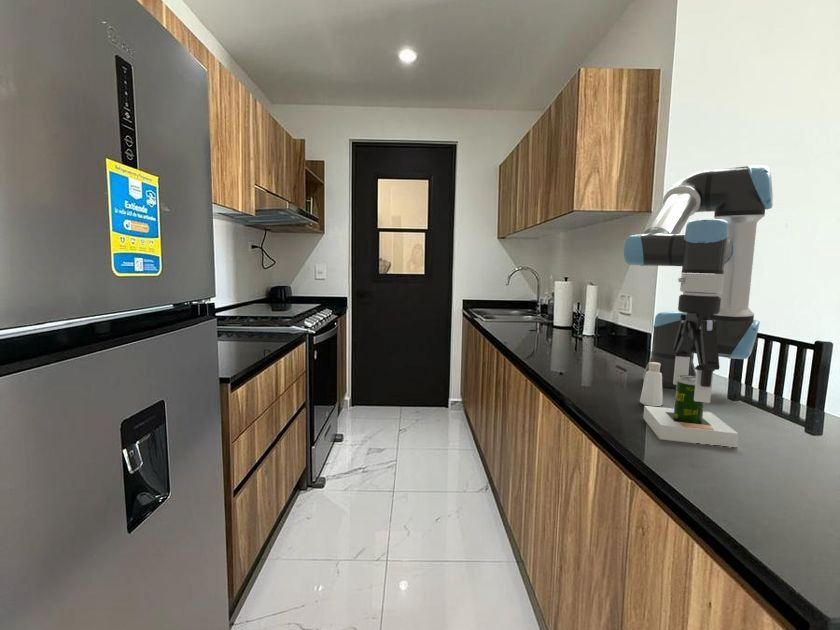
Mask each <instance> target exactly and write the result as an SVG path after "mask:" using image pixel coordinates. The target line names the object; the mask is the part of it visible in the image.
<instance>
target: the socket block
mask: <svg viewBox="0 0 840 630" xmlns="http://www.w3.org/2000/svg"><path fill="white" fill-rule="evenodd" d="M673 415H674V408H671V407H670V408H669V407H662V406H660V407H652V406H648V405H644V406H643V415H642V416H643V417H642V418H643V420H644V421H645V422H646V423H647V425H648V426H649V428H650V429H651V430H652V431H653V433H654V434H655V435H656V437H657V438H658V439H659V440H662V441H663V440H665V441H670V442H671V441H673V442H681V443H691V444H696V443H700V444H699V445H705V444H710V445H709V446H713V445H721V446H720V447H722V446H729V447H728V448H731V447H737V448H738V443H739V432H737V431H736V430H735V429H733V428H732V427H730V426H729V425H728V424H727V423H725V422H724V421H723V420H722V419H720V418H719V417H718V416H717V415H716V414H714V413H713V412H712V411H711V412H710V411H703V418H702V424H693V423H684V422H674V421H673Z"/></svg>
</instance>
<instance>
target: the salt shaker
mask: <svg viewBox="0 0 840 630" xmlns="http://www.w3.org/2000/svg"><path fill="white" fill-rule="evenodd" d="M648 363H649V371H647V372H646V374H645V379H644V380H643V385H642V389H641V393H640V394H641V395H640V397H639V398H640V399H639V403H640V404H642V405H644V406H660V407H662V406H663V403H664V401H663V386H662V373H660V372H659V371H660V366H661V364H660V363H657V362H649V361H648ZM661 405H662V406H661Z"/></svg>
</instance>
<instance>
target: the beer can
mask: <svg viewBox="0 0 840 630" xmlns="http://www.w3.org/2000/svg"><path fill="white" fill-rule="evenodd" d="M695 382H696V376H690V375H679V378H678V380H677V386H676V388H675V397H674V404H673V406H674V407H673V409H674V415H673V421H674V422H684V423H693V424H702V418H703V412H704V406H705V402H697V401H694V392H695Z"/></svg>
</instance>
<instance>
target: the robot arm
mask: <svg viewBox="0 0 840 630" xmlns="http://www.w3.org/2000/svg"><path fill="white" fill-rule="evenodd" d="M773 196H774V195H773V180H772V173H771V169H770V168H769V167H768V166H766V165H746V166H736V167H731V168H721V169H713V170H712V169H708V170H703V171H699V172H695V173H692V174H690V175H689V176H687V177H685V178H683V179H681V180H679V181H678V182H676V183H675V184H673V185H672V187H670V188H669V189H668V190H667V192H666V193H665V195H664V196H663V199H662V205H661V207H660V208H659V210H658V212H656V214H655V216H654V217H653V219H652V220H651V222H650V223H649V224H648V226H647V228H646V229H645V230H644V231H643V233H642V234H639V233H637V234H632V235H629V236H628V237H626V239H625V241H624V244H623V258H624V261H625V262H626V264H627V265H629V266H630V265H631V266H640V267H643V266H645V267H646V266H647V267H648V266H650V267H651V266H652V267H682V268H681V274H680V275H681V276H680V277H679V278H677V279H678V280H677V281H678V282H679V283H680V287H679V291H680V292H681V293H682V294H680V295H678V304H677V305H678V307H677V310H674V311H671V310H670V311H660V312H658V313H657V314H656V315H655V317H654V324H653V326H652V327H653V334H652V344H651V345H652V346H651V356H650V359H649V361H648V363H647V365H646V367H645V370H644V371H643V375H642V376H643V377H642V381H644V379H645V374H646V372H647V371H649V362H657V363H660V364H661V366H660V371H659V372H660V373H662V388H670V389H676V386H677V380H678V378H679V375H690V376H696V382H695V392H694V401H697V402H704V403H707V404H709V403H711V398H712V397H711V396H712V386H713V377H714V376H713V375H714V371H715V370H716V371H719V370H720V358H725V359H729V360H731V359H737V360H745V359H749V357H750V356H751V354H752V352H753V349H754V346H755V342H756V341H757V340H756V339H757V335H758V333H759V332H758V331H759V327H760V323H761V322H760V321H759V320H757V319H755V318H754V317H755V313H754V312H753V311H752V310H751V309H750V308H749V305H750V303H749V301H750V294H751V285H752V284H751V282H752V274H753V265H754V253H755V244H756V234H757V226H758V225H757V224H758V222H759V221H760V220H761V219H764V217H765V216H766V215H765V214H766V210H770V209H772V207H773V204H774V203H773ZM705 212H707V213H708V212H714V214H713V215H714V216H713V218H707V219H706V218H702V219H695V220H694V219H693V220H690V221H689V222H687V221H688V220H689V218H690V217H691V216H693V215H694V214H696V213H705ZM685 225H686V226H685ZM684 226H685V233H681V232H682V230H683V228H684ZM695 354H696V357H697V363H698V365H696V366H695V364H694V356H695Z"/></svg>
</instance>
